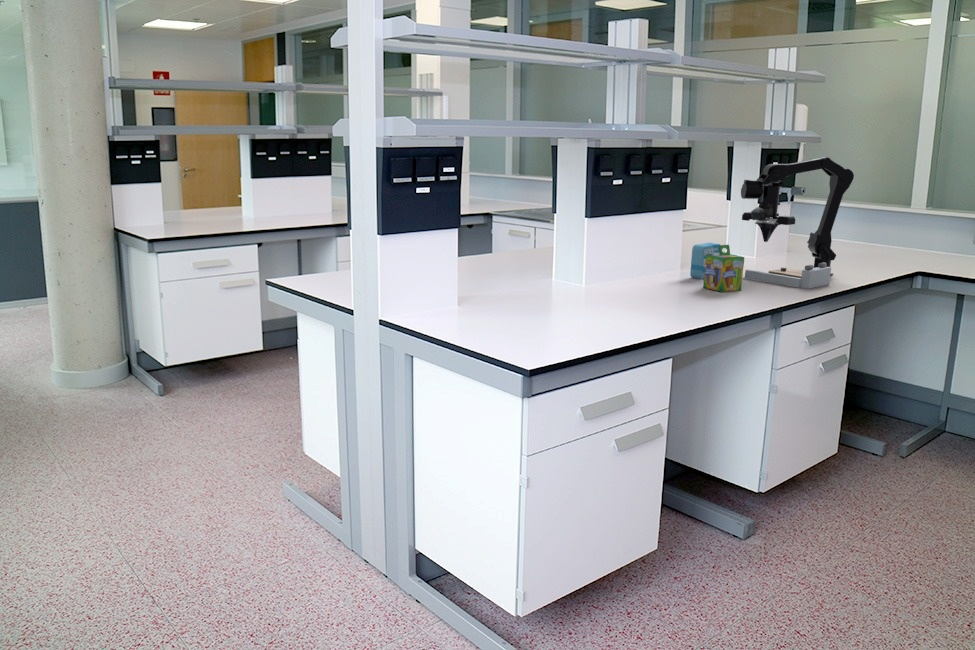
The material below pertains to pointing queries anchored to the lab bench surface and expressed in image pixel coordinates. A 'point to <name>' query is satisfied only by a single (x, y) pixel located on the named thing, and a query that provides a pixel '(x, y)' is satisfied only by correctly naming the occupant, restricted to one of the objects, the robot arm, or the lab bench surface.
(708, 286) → the chalk box
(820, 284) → the block
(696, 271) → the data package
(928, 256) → the lab bench surface
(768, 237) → the robot arm
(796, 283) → the guide rail
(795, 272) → the door panel
